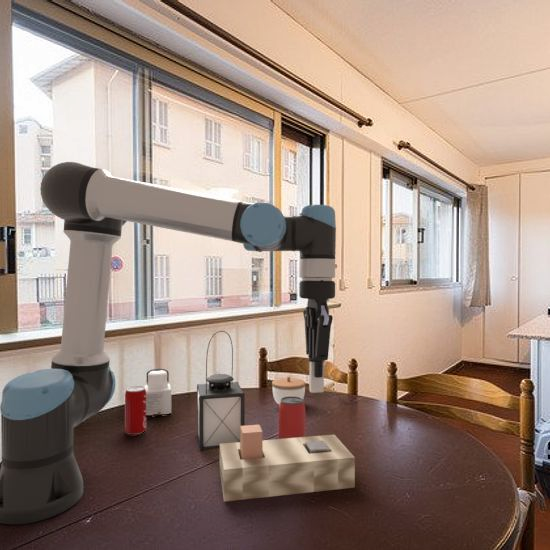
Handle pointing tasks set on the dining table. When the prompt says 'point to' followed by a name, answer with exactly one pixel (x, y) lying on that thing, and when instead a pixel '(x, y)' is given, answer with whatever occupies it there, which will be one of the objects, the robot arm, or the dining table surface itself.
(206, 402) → the lantern
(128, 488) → the dining table surface
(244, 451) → the terracotta peg
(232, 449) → the birch block
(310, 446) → the metal peg
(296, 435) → the beer can
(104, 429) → the dining table surface
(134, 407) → the soda can
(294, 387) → the lidded jar
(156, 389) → the container
